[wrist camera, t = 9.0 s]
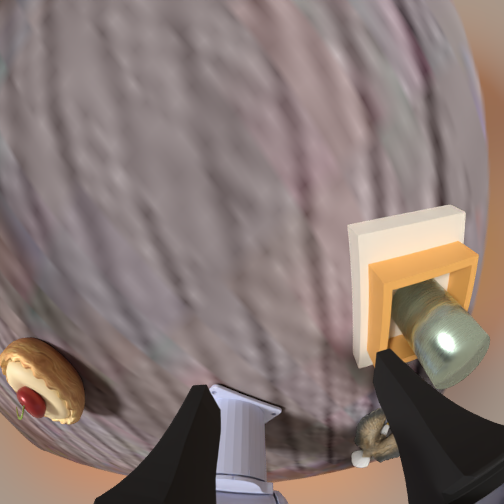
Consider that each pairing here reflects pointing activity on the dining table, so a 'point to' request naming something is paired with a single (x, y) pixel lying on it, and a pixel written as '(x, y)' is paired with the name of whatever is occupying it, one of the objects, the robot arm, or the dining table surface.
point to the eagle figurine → (374, 440)
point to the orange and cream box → (404, 272)
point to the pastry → (43, 380)
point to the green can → (439, 332)
